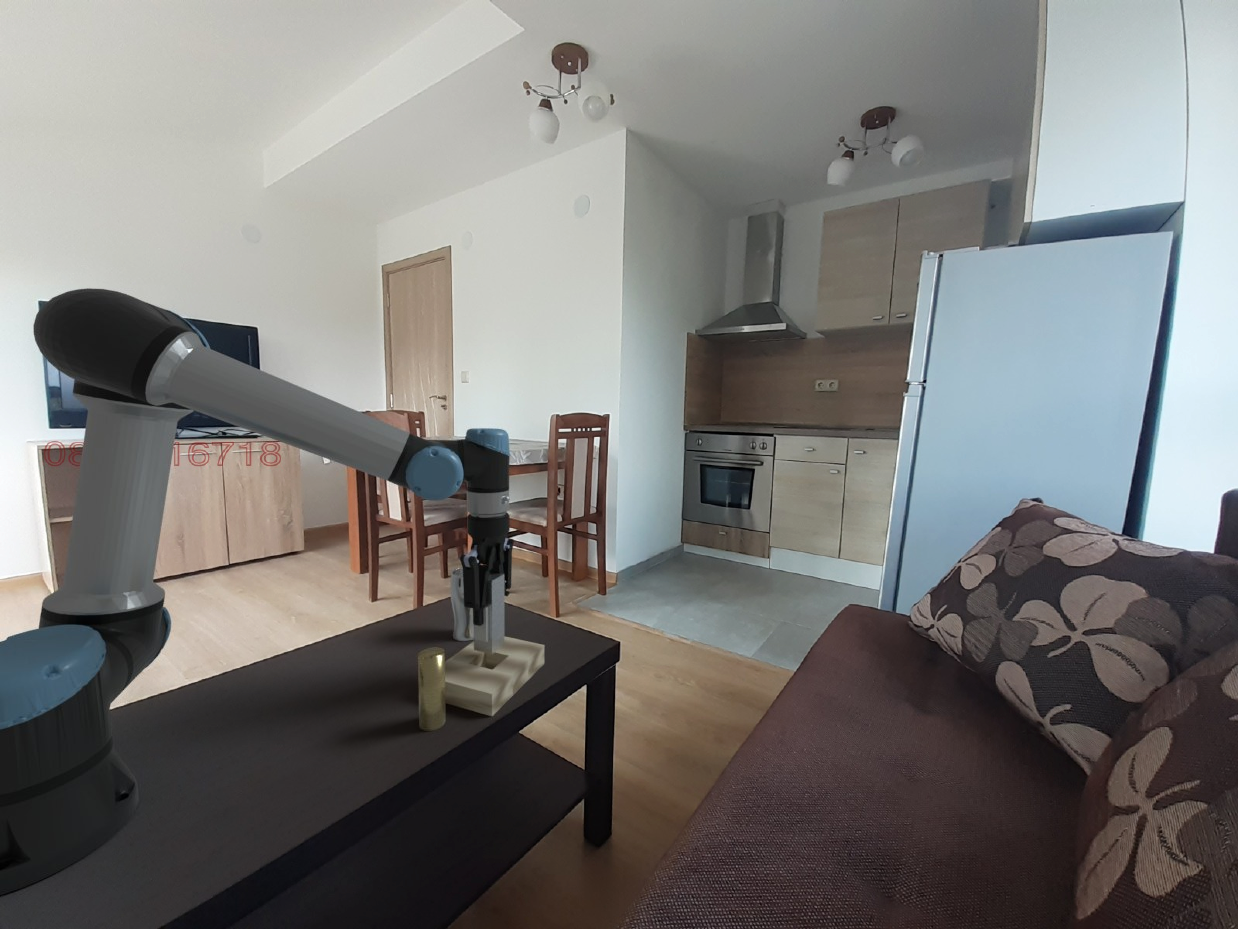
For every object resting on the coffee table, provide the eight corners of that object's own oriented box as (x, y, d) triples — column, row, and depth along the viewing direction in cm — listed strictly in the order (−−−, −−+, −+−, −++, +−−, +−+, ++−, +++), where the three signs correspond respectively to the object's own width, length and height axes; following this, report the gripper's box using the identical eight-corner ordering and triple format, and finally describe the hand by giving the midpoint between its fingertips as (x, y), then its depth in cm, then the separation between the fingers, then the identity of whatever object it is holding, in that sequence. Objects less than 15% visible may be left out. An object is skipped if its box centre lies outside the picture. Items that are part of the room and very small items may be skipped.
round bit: (433, 733, 74) (432, 662, 73) (413, 727, 76) (412, 656, 74) (450, 718, 78) (450, 650, 77) (431, 712, 80) (430, 645, 78)
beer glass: (449, 631, 109) (448, 568, 107) (480, 626, 112) (480, 564, 110) (452, 644, 102) (451, 578, 101) (485, 639, 105) (485, 574, 104)
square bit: (492, 654, 87) (491, 581, 85) (474, 650, 88) (473, 577, 86) (504, 644, 90) (504, 574, 89) (486, 640, 92) (486, 571, 90)
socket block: (492, 716, 79) (492, 694, 79) (425, 697, 84) (424, 676, 83) (544, 663, 96) (544, 645, 95) (486, 650, 101) (486, 632, 100)
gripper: (476, 525, 77) (477, 660, 80) (530, 506, 93) (529, 619, 96) (439, 520, 79) (441, 651, 82) (498, 502, 95) (498, 613, 98)
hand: (489, 634), depth 89 cm, fingers closed on square bit, 4 cm apart
